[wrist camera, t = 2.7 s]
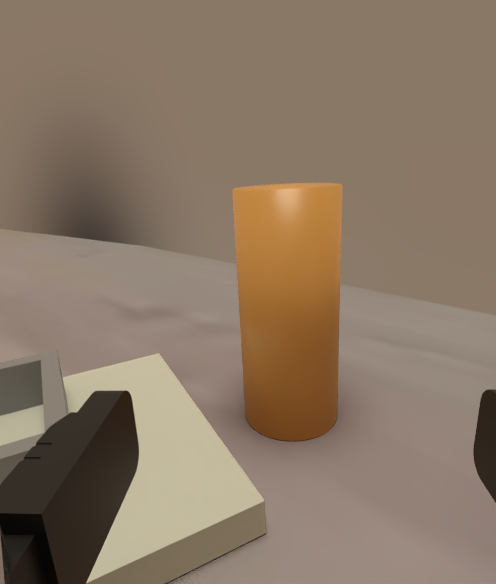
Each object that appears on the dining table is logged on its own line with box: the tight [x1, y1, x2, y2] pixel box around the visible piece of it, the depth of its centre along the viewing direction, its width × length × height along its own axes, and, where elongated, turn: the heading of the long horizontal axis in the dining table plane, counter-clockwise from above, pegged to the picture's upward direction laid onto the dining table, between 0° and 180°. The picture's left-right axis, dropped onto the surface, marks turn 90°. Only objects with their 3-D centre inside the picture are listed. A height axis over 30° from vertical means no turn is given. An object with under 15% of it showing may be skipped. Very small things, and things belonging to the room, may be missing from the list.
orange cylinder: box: [233, 183, 342, 441], centre depth 20 cm, size 5×5×12 cm
